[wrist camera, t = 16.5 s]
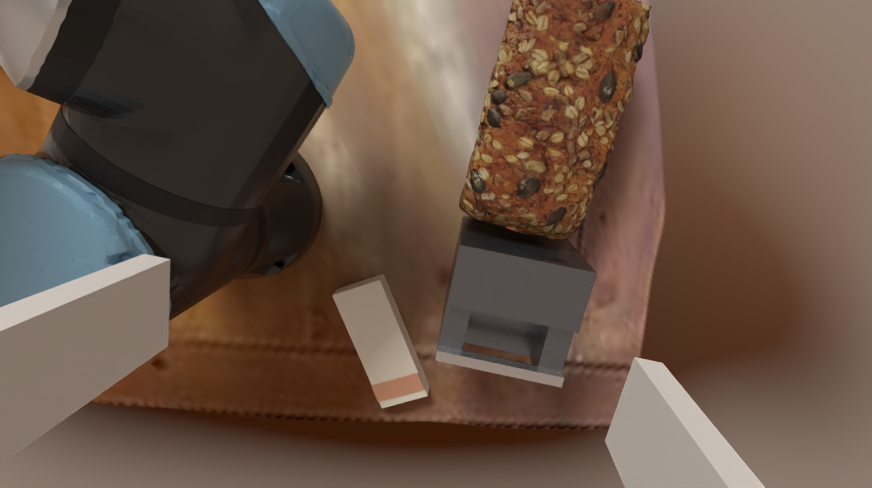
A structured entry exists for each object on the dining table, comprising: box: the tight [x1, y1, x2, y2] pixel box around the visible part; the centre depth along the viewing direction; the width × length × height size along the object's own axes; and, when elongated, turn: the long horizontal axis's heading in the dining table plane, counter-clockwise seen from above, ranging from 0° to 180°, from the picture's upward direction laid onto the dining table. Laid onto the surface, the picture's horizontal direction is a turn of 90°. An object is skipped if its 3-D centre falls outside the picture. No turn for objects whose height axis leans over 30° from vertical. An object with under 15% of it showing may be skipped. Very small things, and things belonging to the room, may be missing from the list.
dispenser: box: [435, 217, 597, 388], centre depth 39 cm, size 10×10×11 cm
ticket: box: [332, 274, 429, 408], centre depth 46 cm, size 5×14×3 cm, turn 20°
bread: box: [459, 0, 651, 240], centre depth 36 cm, size 19×11×10 cm, turn 165°
